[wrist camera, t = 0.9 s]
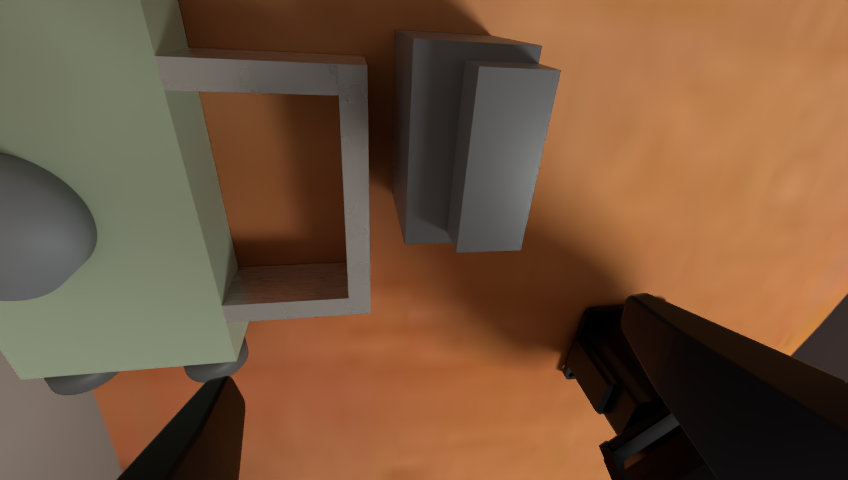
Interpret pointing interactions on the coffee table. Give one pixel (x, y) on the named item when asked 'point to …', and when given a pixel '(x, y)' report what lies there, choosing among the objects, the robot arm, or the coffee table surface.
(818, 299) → the coffee table surface
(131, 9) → the mower deck
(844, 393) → the robot arm
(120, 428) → the coffee table surface
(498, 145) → the dark grey stepped block
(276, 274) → the bracket
